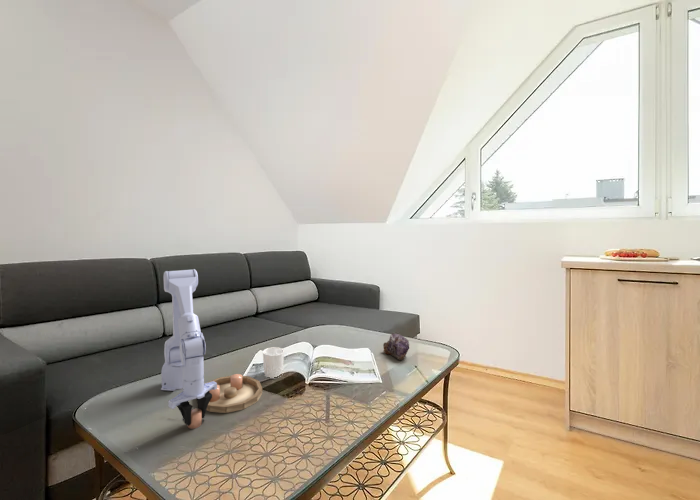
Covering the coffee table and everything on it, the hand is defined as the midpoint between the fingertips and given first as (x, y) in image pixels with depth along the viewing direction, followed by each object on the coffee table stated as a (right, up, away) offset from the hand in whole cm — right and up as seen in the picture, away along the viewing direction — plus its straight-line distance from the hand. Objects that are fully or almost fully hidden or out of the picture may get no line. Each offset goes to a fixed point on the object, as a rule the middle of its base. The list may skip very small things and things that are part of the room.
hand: (194, 420), depth 112 cm
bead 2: (+1, +1, +13) cm, 13 cm away
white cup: (+17, +2, +32) cm, 36 cm away
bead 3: (+6, +2, +21) cm, 22 cm away
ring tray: (+6, +1, +16) cm, 17 cm away
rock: (+67, +4, +55) cm, 87 cm away
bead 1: (0, -1, 0) cm, 2 cm away
